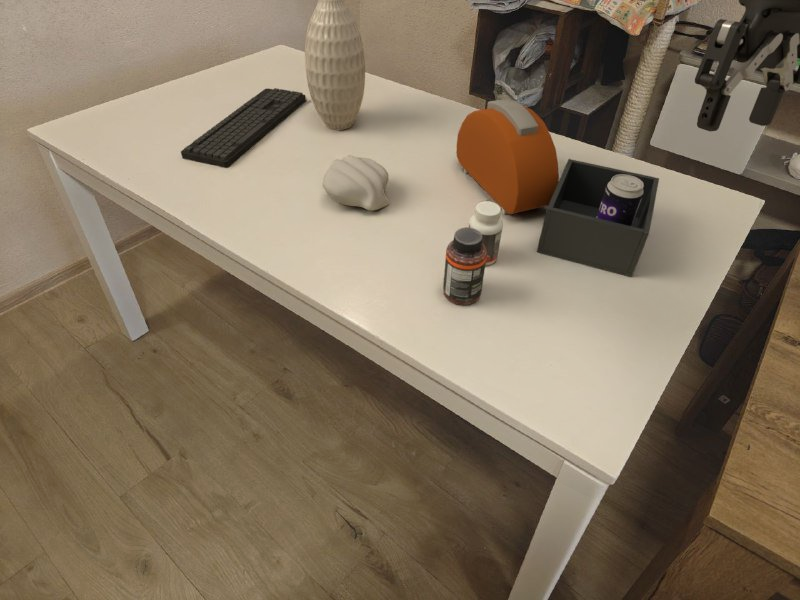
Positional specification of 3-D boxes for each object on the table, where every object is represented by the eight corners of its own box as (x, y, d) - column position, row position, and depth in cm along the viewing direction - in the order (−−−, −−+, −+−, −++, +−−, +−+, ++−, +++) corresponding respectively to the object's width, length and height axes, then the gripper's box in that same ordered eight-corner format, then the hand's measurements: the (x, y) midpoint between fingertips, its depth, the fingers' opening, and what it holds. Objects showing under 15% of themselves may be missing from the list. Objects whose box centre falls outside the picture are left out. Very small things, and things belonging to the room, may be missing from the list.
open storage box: (643, 220, 100) (659, 178, 94) (631, 277, 88) (649, 233, 82) (558, 200, 104) (568, 158, 98) (536, 252, 93) (546, 208, 87)
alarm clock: (553, 215, 101) (574, 130, 89) (511, 226, 98) (527, 139, 87) (490, 156, 116) (501, 78, 105) (453, 164, 114) (460, 84, 102)
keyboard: (266, 93, 138) (265, 85, 137) (306, 100, 136) (306, 92, 134) (181, 158, 114) (178, 149, 113) (227, 168, 111) (225, 159, 110)
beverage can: (596, 229, 96) (616, 169, 88) (628, 241, 94) (651, 180, 86) (584, 245, 93) (603, 184, 85) (616, 257, 91) (639, 196, 82)
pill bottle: (460, 261, 91) (466, 212, 84) (470, 243, 94) (477, 195, 87) (491, 270, 89) (500, 221, 82) (501, 252, 93) (509, 203, 86)
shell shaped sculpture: (319, 184, 107) (316, 155, 103) (381, 177, 110) (381, 147, 105) (329, 222, 98) (326, 191, 94) (397, 212, 101) (397, 182, 96)
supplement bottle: (452, 276, 88) (458, 218, 80) (486, 289, 86) (496, 230, 78) (435, 298, 84) (440, 239, 76) (471, 311, 82) (479, 253, 74)
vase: (301, 130, 124) (285, -8, 105) (327, 108, 132) (317, -23, 113) (351, 141, 120) (344, 0, 101) (375, 118, 129) (373, -16, 110)
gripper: (791, -51, 45) (718, 142, 54) (887, -43, 51) (806, 131, 60) (714, -54, 51) (659, 121, 60) (808, -47, 56) (745, 113, 65)
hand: (733, 126), depth 60 cm, fingers open, 8 cm apart
